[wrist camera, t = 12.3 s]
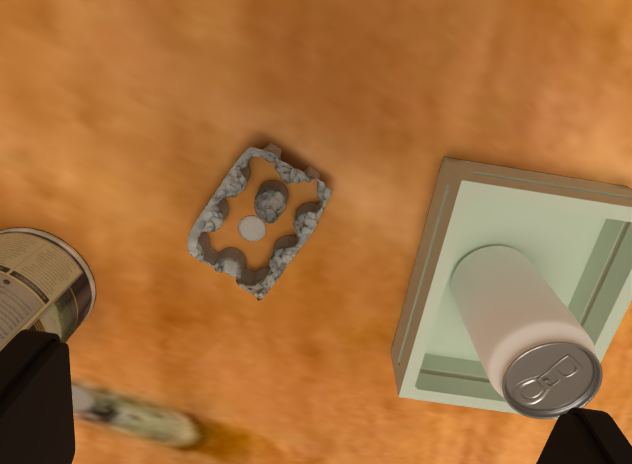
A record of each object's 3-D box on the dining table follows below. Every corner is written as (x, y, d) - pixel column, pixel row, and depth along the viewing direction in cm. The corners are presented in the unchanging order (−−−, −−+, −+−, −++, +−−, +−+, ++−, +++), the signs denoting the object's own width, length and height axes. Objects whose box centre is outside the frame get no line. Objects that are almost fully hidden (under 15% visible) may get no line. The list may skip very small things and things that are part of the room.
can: (432, 280, 39) (472, 383, 28) (496, 227, 37) (566, 315, 26) (483, 326, 41) (539, 441, 30) (548, 278, 39) (633, 382, 28)
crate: (443, 156, 36) (461, 180, 31) (626, 186, 36) (673, 213, 31) (390, 352, 43) (398, 396, 38) (543, 374, 44) (571, 421, 39)
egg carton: (265, 281, 41) (258, 308, 37) (187, 233, 39) (172, 257, 36) (341, 184, 37) (342, 203, 34) (258, 126, 36) (249, 140, 32)
